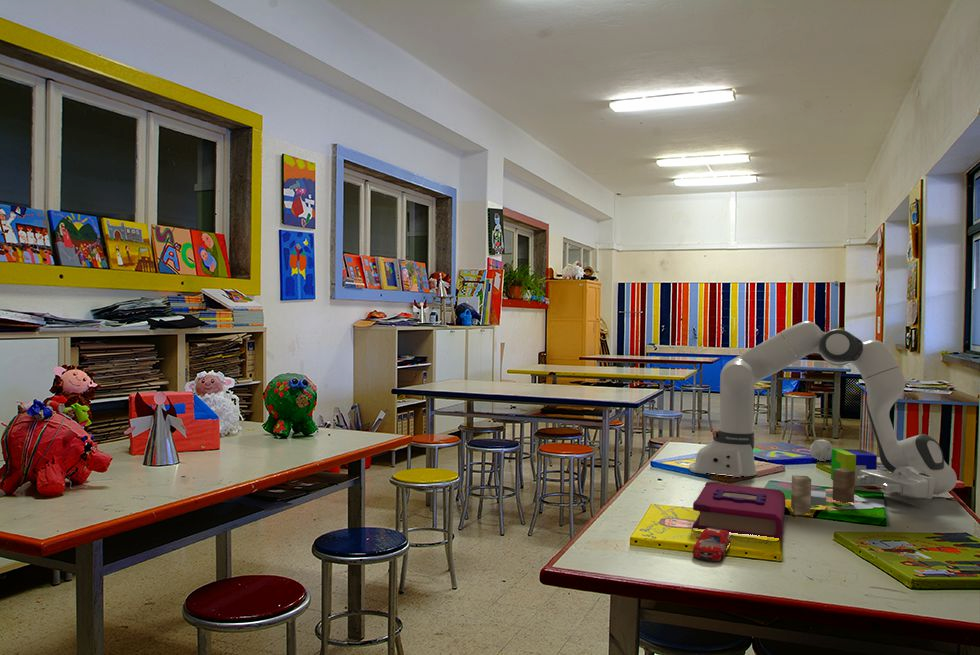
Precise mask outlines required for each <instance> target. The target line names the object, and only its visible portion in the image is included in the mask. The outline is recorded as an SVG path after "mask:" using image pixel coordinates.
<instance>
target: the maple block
mask: <svg viewBox="0 0 980 655" xmlns="http://www.w3.org/2000/svg"><path fill="white" fill-rule="evenodd" d="M811 491H812V478H811V477H809V476H807V475H797V474H796V475H793V474H792V475H791V492H790V493H791V498H790V509H791V508H792V509H793V512H794V513H793V512H792V513H793V515H794V516H802V515H801V514H806V513H810V514H811V509H810V508H811Z"/></svg>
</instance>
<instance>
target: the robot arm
mask: <svg viewBox="0 0 980 655" xmlns="http://www.w3.org/2000/svg"><path fill="white" fill-rule="evenodd" d="M811 354H816V355H818V356H819V357H820V358H822V359H823V360H825V362H827V363H829V364H830V365H833V366H844V365H847V364H849V363H850V364H852V365H853V366H854V367H856V368H857V370H858V372H859V374H860V376H861V378H862V380H863V382H864V384H865V388H866V389H865V390H866V394H867V396H866V400H865V407H866V411H867V415H868V418H869V421H870V424H871V427H872V431H873V434H874V437H875V440H876V443H877V446H878V453H879V454H878V455H879V460H880V463H881V465H882V466H883V467H884V468H885V469H886V470H887V471H885V470H882V469H881V470H880V469H876V470H860V472H859V477H857V482H858V483H867V484H870V485H873V486H872V487H877V488H881V489H882V490H883V491H885V492H894V493H897V494H898V495H900V496H901V497H904V498H908V497H911V498H917V499H918V498H921V499H924V500H925V499H926V500H932V499H933V496H936V495H942V494H946V493H949V492H950V491H952V490H953V489H954V487H955V486H956V485H957V480H958V478H957V474H956V472H955V470H954V469H953V468H952V467H951V466H949V465H948V463H947V462H946V461H945V458H944V452H943V449H942V447H941V445H940V444H939V442H938V441H937V440H936V439H935V438H933V437H932V436H931V435H928V434H925V433H922V434H918V435H914V436H911V437H908V438H906V439H902V440H898V439H897V435H896V433H895V430H894V427H893V424H892V421H891V418H890V417H891V416H890V411H891V409H892V407H893V406H894V404H895V403H896V402H897V401H898V400H899V399H900V397H901V396H902V394H904V391H905V389H906V379H905V376H904V374H903V372H902V370H901V368H900V366H899V364H898V362H897V360H896V359H895V357H894V356H893V354H892V352H891V351H890V349H889V348H888V347H887V345H886V344H885V343H884V342H882V341H880V340H877V339H876V340H875V339H870V340H866V341H862V340H861V339H859V338H858V337H857V336H855V335H854V334H852V333H850V332H849V331H847V330H845V329H842V328H840V329H839V328H836V329H835V328H834V329H831V330H830V329H829V331H827V332H826V331H823V330H821V328H820V327H819V326H818V325H817V324H816V323H815V322H812V321H811V320H810V321H809V320H805V321H802V322H798V323H796V324H794V325H791V326H789V327H788V328H786V329H783V330H782V331H780V332H778V333H776V334H775V335H773V336H771V337H769V338H768V339H766V340H765V341H762V342H761V343H759V344H757V345H756V346H754V347H752V348H750V349H749V350H746V351H745V352H743V353H741V354H739V355H738V356H736V357H734V358H733V359H731V360H729V361H727V362H726V363H725V365H724V366H723V367H722V369H721V370H720V374H719V376H720V380H719V406H720V407H719V430H717V429H713V430H712V431H711V434H712V441H711V442H709V443H708V444H706V445H705V446H703V447H702V448H700V449H699V450H698V452H697V453H696V456H695V461H694V462H692V463H690V464H689V465H688V470H689V471H690V472H692V473H694V474H695V473H696V474H704V475H707V474H706V473H715V474H726V475H733V476H742V475H744V477H752V476H756V475H757V474H758V472H757V468H756V464H755V454H754V449H755V444H756V443H755V441H756V440H755V438H756V436H755V432H754V420H755V418H754V415H755V414H754V412H755V387H756V386H755V384H757V383H758V382H760V381H762V380H764V379H766V378H768V377H770V376H772V375H774V374H776V373H778V372H780V371H782V370H784V369H786V368H787V367H789V366H791V365H793V364H795V363H797V362H798V361H800V360H802V359H803V358H805V357H806V356H809V355H811Z"/></svg>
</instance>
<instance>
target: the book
mask: <svg viewBox="0 0 980 655" xmlns="http://www.w3.org/2000/svg"><path fill="white" fill-rule="evenodd" d="M785 509H786V495H785V493H784V492H783V491H781V490H780V489H775V488H764V487H757V486H756V487H755V486H747V485H746V486H745V485H737V484H731V483H730V484H728V483H720V482H716V481H707V482H706V483H705V484H704V487H703V489H702V490H701V492H700V493H699V494H698V496H697V498H696V500H694V501H693V503H692V510H693V511H695V512H699V514H698V517H697V518H696V520H695V521H694V522H693V524H692V529H693V528H698V529H706V528H717V529H722V530H726V531H728V532H731V533H738V534H749V535H750V534H751V535H752V534H753V535H757V536H758V535H760V536H767V537H774V538H779V539H780V540H781V538H782V532H783V525H784V524H783V523H784V519H785V518H784V517H785V516H784V515H785V511H786V510H785Z"/></svg>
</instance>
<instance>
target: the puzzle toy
mask: <svg viewBox="0 0 980 655" xmlns="http://www.w3.org/2000/svg"><path fill="white" fill-rule="evenodd" d="M877 463H878V456H877V454H873V453H871V452H869V451H866V450H865V449H852V448H850V449H848V448H847V449H846V448H834V449H832V458H831V463H830V464H831V467H830V479H832V480H833V469H843V468H845V469H848V470H852V471H855V486H857V487H858V486H859V487H861V486H862V487H874V486H873V485H870V484H867V483H858V482H857V477H859V472H860V470H878V469H877V467H878V466H877Z"/></svg>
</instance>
